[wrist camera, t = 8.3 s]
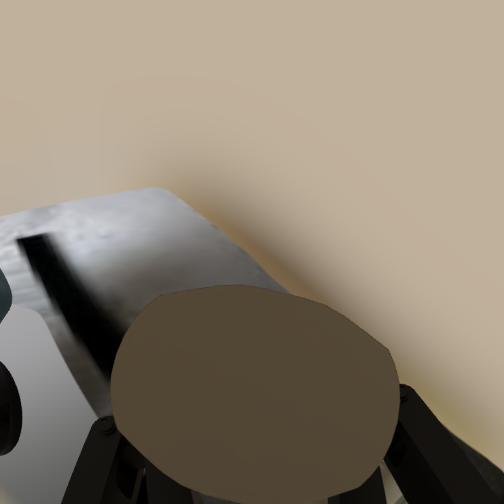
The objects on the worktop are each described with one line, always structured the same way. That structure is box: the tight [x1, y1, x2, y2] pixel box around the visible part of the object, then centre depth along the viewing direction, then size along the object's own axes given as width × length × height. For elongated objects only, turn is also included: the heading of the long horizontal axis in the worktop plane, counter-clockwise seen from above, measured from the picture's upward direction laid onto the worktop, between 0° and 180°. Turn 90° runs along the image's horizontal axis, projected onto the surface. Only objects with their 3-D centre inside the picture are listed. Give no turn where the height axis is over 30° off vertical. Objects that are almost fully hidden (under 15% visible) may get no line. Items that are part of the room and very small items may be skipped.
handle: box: [110, 285, 400, 504], centre depth 13 cm, size 5×6×15 cm
